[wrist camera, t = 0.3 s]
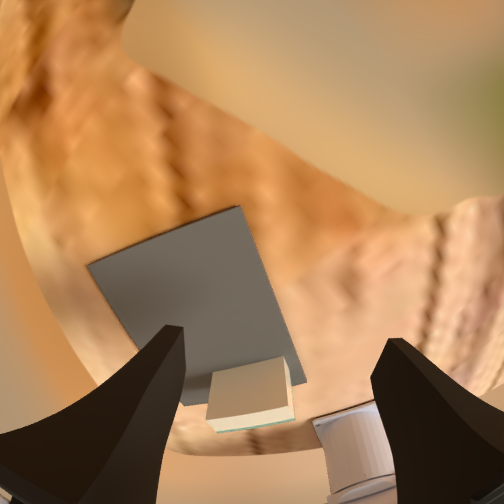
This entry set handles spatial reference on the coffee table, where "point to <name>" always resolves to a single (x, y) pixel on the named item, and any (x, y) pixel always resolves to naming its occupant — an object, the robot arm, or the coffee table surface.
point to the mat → (200, 298)
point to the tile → (251, 396)
